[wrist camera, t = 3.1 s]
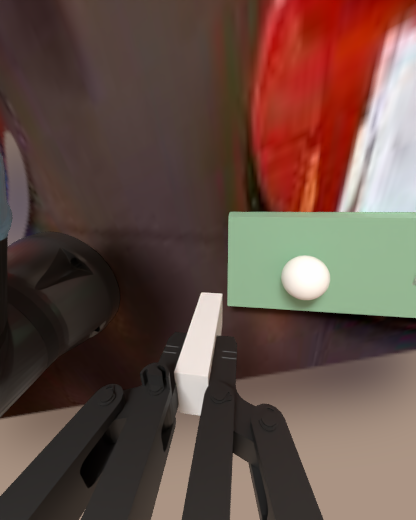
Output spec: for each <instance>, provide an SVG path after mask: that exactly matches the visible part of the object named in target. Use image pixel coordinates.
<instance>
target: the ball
mask: <svg viewBox="0 0 416 520" xmlns="http://www.w3.org/2000/svg"><path fill="white" fill-rule="evenodd" d="M281 281H282V284H283V287H284V288H285V290H286V291H287V292H288V293H289V294H290V295H291V296H293V297H295V298H297V299H300V300H313V299H316V298H318V297H320V296H321V295H323V294H324V293H325V292H326V290H327V289H328V287H329V284H330V273H329V270H328V268H327V267H326V265H325V264H324V263H323V262H322V261H320V260H319V259H317V258H315V257H312V256H306V255H304V256H298V257H295V258H293V259H291V260H290V261H288V262H287V263H286V265H285V266H284V268H283V270H282V274H281Z"/></svg>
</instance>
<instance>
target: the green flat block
mask: <svg viewBox="0 0 416 520" xmlns="http://www.w3.org/2000/svg"><path fill="white" fill-rule="evenodd" d="M304 255H306V256H312V257H315V258H317V259H319V260H320V261H322V262H323V263H324V264H325V265H326V267H327V268H328V270H329V273H330V284H329V287H328V289H327V290H326V292H325V293H324V294H323V295H321V296H320V297H318V298H316V299H313V300H300V299H297V298H295V297H293V296H291V295H290V294H289V293H288V292H287V291H286V290H285V288H284V287H283V284H282V281H281V274H282V270H283V268H284V266H285V265H286V263H287V262H288V261H290V260H291V259H293V258H295V257H298V256H304ZM227 306H240V307H255V308H270V309H285V310H301V311H316V312H331V313H347V314H362V315H377V316H393V317H408V318H416V212H230V214H229V226H228V303H227Z"/></svg>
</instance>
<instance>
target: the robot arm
mask: <svg viewBox="0 0 416 520" xmlns="http://www.w3.org/2000/svg"><path fill="white" fill-rule="evenodd" d="M11 222H12V212H11V209H10V207H9V205H8V203H7V199H6V186H5V173H4V163H3V158H2V155H1V152H0V417H1V416H2V415H3V414H4V413H5V412H6V411H7V410H8V409H9V408H10V407H11V406H12V405H13V404H14V403H15V402H16V400H17V399H18V398H19V397H20V396H21V395H22V394H23V393H24V392H25V391H26V390H27V389H28V388H29V387H30V386H31V385H32V384H33V383H34V382H35V381H36V380H37V378H38V377H39V376H40V375H41V374H42V373H43V372H44V371H45V370H46V369H47V368H48V367H49V366H50V365H51V364H52V363H53V362H54V361H55V360H56V359H57V358H58V357H59V356H60V355H62V354H64V353H66V352H67V351H69V350H71V349H72V348H74V347H76V346H77V345H79V344H81V343H83V342H84V341H86V340H87V339H89V338H91V337H93V336H94V335H96V334H98V333H99V332H100V331H102V330H103V329H104V328H105V327H106V326H107V324H108V323H109V322H110V321H111V320H112V319H113V317H114V316H115V315H116V313H117V311H118V308H119V303H120V292H119V287H118V284H117V281H116V278H115V276H114V274H113V272H112V270H111V269H110V267H109V266H108V264H107V263H106V262H105V261H104V259H103V258H102V257H101V256H100V255H99V254H98V253H97V252H96V251H95V250H93V249H92V248H91V247H90V246H88V245H87V244H85V243H84V242H82V241H80V240H78V239H76V238H74V237H72V236H69V235H66V234H62V233H57V232H41V233H37V234H34V235H31V236H28V237H25V238H22V239H20V240H18V241H16V242H14V243H12V244H11V245H9V246H8V247H7V236H8V231H9V230H10V227H11ZM221 330H222V294H217V293H201V295H200V298H199V301H198V304H197V307H196V310H195V313H194V315H193V318H192V321H191V324H190V327H189V330H188V333H179V332H175V333H174V334H173V335H172V336H171V337H170V338H169V339H168V342H167V344H166V347H165V348H164V351H163V353H162V355H161V358H160V360H159V362H158V363H152V364H149V365H147V366H146V367H145V368H143V370H142V371H141V372H140V377H141V382H142V386H139V387H136V388H131V389H126V390H122V387H121V386H119V385H117V384H109V385H106V386H104V387H102V388H101V389H99V390H98V391H97V392H96V393H95V394H94V395H93V396H92V397H91V398H90V399H89V400H88V402H87V403H86V404H85V405H84V406H83V407H82V408H81V409H80V410H79V411H78V412H77V414H76V415H75V416H74V417H73V418H72V419H71V420H70V421H69V422H68V423H67V424H66V426H65V427H64V428H63V429H62V430H61V431H60V432H59V433H58V434H57V435H56V436H55V437H54V439H53V440H52V441H51V442H50V443H49V444H48V445H47V446H46V447H45V448H44V449H43V451H42V452H41V453H40V454H39V455H38V456H37V457H36V458H35V459H34V460H33V461H32V462H31V464H30V465H29V466H28V467H27V468H26V469H25V470H24V471H23V472H22V474H21V475H20V476H19V477H18V478H17V479H16V480H15V481H14V482H13V483H12V484H11V485H10V487H8V489H7V490H6V491H5V492H4V493H3V494H2V495H1V496H0V520H79V518H80V517H81V515H82V513H83V512H84V514H83V516H82V518H81V520H151V517H152V513H153V509H154V505H155V501H156V498H157V494H158V490H159V486H160V482H161V479H162V475H163V471H164V467H165V464H166V460H167V456H168V452H169V448H170V444H171V441H172V437H173V433H174V429H175V424H176V418H175V415H176V412H177V408H178V409H179V412H180V413H187V414H193V415H199V416H200V421H199V426H198V432H197V437H196V443H195V449H194V455H193V460H192V465H191V471H190V477H189V482H188V488H187V493H186V499H185V505H184V511H183V515H182V520H230V503H231V501H230V500H231V480H232V457H233V453H234V454H236V455H237V456H239V457H241V458H242V459H244V460H245V461H247V462H249V468H250V472H251V478H252V482H253V487H254V492H255V497H256V502H257V507H258V511H259V517H260V520H323V517H322V515H321V512H320V509H319V507H318V504H317V502H316V499H315V496H314V494H313V491H312V489H311V486H310V483H309V481H308V478H307V476H306V473H305V470H304V468H303V465H302V463H301V460H300V458H299V455H298V452H297V450H296V447H295V444H294V442H293V439H292V436H291V434H290V431H289V429H288V426H287V423H286V421H285V419H284V417H283V415H282V414H281V412H280V411H279V410H278V409H277V408H276V407H274V406H272V405H269V404H261V405H257V406H254V405H252V404H250V403H248V402H246V401H245V400H243V399H242V398H241V397H240V396H239V394H238V393H237V390H236V385H235V383H236V359H237V343H236V341H235V339H234V337H228V336H221ZM84 510H85V511H84Z"/></svg>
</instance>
